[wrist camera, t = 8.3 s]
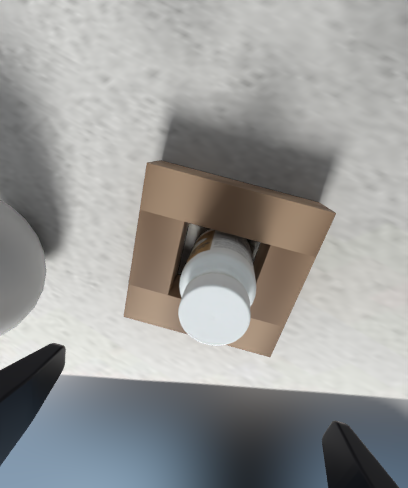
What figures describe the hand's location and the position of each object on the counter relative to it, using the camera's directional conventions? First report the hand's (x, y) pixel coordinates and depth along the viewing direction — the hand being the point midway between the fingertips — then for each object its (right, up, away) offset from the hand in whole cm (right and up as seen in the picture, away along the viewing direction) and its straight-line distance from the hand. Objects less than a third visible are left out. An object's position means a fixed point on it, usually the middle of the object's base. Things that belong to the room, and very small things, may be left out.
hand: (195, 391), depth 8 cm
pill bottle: (+2, +4, +11) cm, 12 cm away
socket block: (+1, +4, +11) cm, 12 cm away
